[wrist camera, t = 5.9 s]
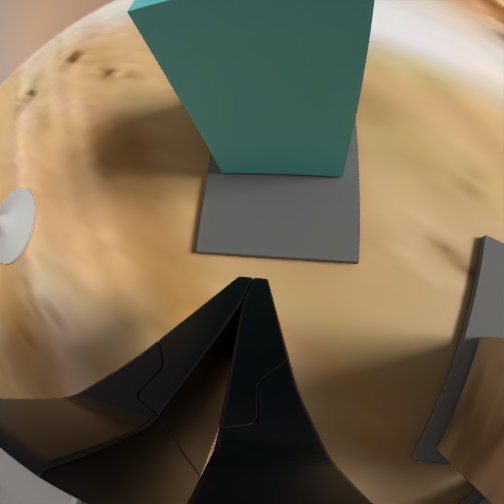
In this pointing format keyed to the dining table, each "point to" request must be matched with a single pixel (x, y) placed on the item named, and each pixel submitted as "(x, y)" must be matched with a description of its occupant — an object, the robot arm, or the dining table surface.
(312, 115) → the teal block
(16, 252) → the wineglass
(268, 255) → the dark gray pads
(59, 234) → the dining table surface
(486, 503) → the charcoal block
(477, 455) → the walnut block
